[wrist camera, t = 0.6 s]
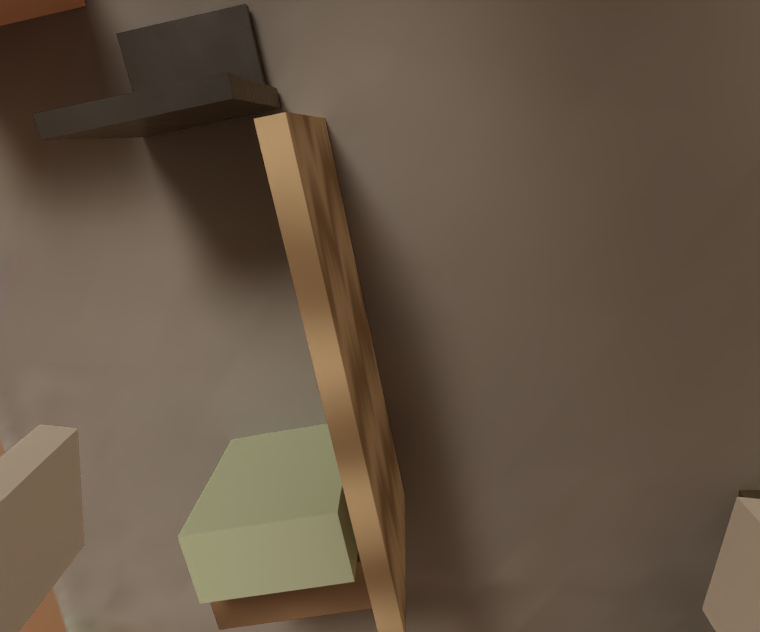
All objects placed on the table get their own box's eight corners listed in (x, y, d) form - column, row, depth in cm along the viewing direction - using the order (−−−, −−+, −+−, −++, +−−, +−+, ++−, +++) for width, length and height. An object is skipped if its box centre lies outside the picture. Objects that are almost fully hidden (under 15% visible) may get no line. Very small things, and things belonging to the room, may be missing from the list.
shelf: (139, 157, 35) (11, 170, 24) (325, 118, 34) (285, 112, 23) (252, 538, 42) (196, 692, 30) (408, 514, 41) (411, 664, 30)
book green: (231, 439, 40) (177, 536, 30) (353, 419, 39) (337, 512, 30) (247, 493, 41) (199, 603, 31) (366, 474, 40) (354, 581, 31)
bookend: (112, 37, 33) (-6, -1, 23) (257, 4, 32) (196, -49, 23) (141, 137, 34) (40, 139, 25) (281, 107, 34) (232, 98, 24)
